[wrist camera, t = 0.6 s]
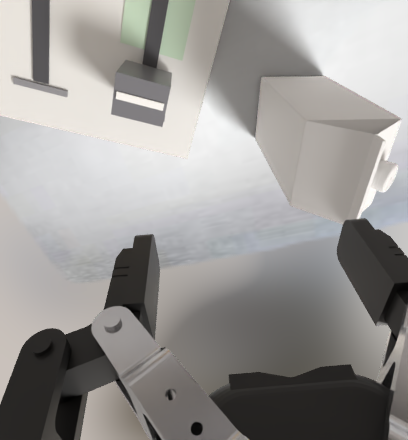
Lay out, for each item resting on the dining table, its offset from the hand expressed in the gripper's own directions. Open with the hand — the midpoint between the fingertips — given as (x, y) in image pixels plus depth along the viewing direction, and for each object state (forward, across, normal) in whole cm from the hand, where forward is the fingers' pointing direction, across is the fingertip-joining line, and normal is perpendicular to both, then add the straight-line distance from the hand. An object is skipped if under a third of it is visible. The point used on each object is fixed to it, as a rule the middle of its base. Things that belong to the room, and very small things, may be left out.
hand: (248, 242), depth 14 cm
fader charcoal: (+24, +6, -1) cm, 25 cm away
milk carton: (+27, -9, +3) cm, 28 cm away
